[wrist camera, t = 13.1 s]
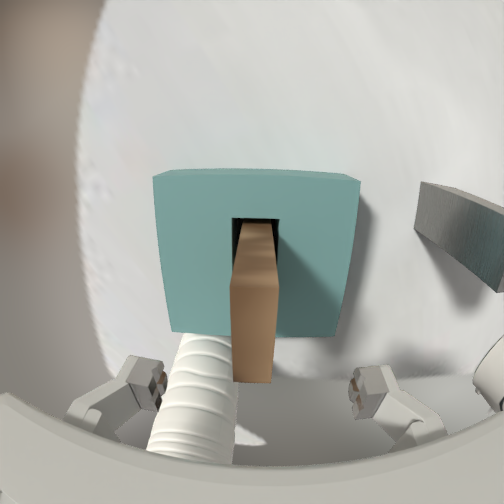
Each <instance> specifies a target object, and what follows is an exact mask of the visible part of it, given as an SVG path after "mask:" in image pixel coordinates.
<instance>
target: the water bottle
mask: <svg viewBox="0 0 504 504" xmlns="http://www.w3.org/2000/svg"><path fill="white" fill-rule="evenodd" d="M238 392H239V382H233V368H232V346H231V336H222V335H206V334H193V333H184V335H183V337H182V340H181V343H180V346H179V349H178V352H177V355H176V357H175V360H174V365H173V367H172V369H171V372H170V375H169V380H168V383H167V389H166V392H165V394H164V395H163V397H162V403H161V406H160V409H159V412H158V414H157V416H156V418H155V420H154V424H153V428H152V431H151V437H150V439H149V441H148V446H147V448H146V450H147V451H151V452H155V453H159V454H164V455H169V456H174V457H179V458H184V459H190V460H196V461H203V462H211V463H220V464H230V465H231V464H232V460H233V457H232V454H233V449H234V442H235V431H234V430H235V426H236V410H237V405H238Z"/></svg>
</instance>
